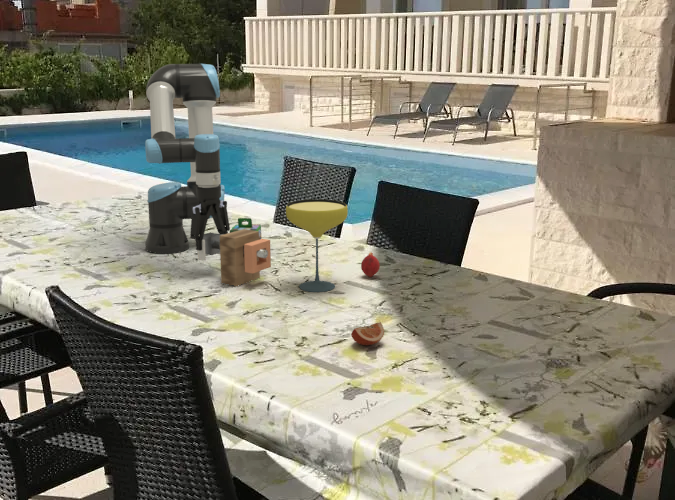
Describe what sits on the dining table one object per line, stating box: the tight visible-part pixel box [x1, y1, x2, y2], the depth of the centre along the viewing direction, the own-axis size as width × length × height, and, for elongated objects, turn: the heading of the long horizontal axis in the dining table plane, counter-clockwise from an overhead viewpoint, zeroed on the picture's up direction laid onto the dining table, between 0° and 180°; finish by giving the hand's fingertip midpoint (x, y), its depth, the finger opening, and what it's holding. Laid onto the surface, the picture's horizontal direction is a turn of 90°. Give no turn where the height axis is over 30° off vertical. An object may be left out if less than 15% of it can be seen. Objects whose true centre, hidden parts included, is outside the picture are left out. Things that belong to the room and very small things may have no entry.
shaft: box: [203, 232, 268, 258], centre depth 232 cm, size 24×4×6 cm, turn 56°
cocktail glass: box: [285, 198, 349, 293], centre depth 224 cm, size 18×18×25 cm
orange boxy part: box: [244, 238, 272, 274], centre depth 227 cm, size 3×8×8 cm, turn 146°
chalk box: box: [229, 217, 263, 240], centre depth 255 cm, size 9×9×15 cm
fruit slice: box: [350, 321, 385, 346], centre depth 182 cm, size 8×7×5 cm
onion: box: [360, 251, 381, 278], centre depth 236 cm, size 6×6×8 cm
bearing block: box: [219, 229, 261, 287], centre depth 232 cm, size 6×11×15 cm, turn 146°
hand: (211, 256), depth 239 cm, fingers open, 8 cm apart
